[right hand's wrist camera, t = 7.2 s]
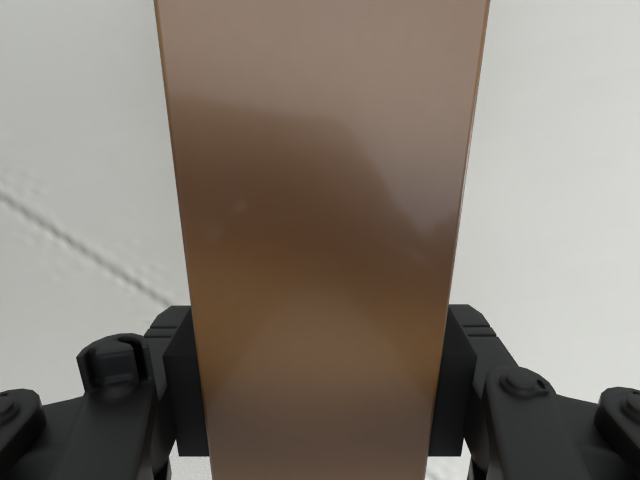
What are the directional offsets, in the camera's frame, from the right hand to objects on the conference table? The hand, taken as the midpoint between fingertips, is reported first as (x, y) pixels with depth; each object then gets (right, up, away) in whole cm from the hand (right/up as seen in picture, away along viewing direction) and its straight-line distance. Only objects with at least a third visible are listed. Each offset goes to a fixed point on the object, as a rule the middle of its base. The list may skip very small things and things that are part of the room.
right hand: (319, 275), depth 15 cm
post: (0, +20, -7) cm, 22 cm away
